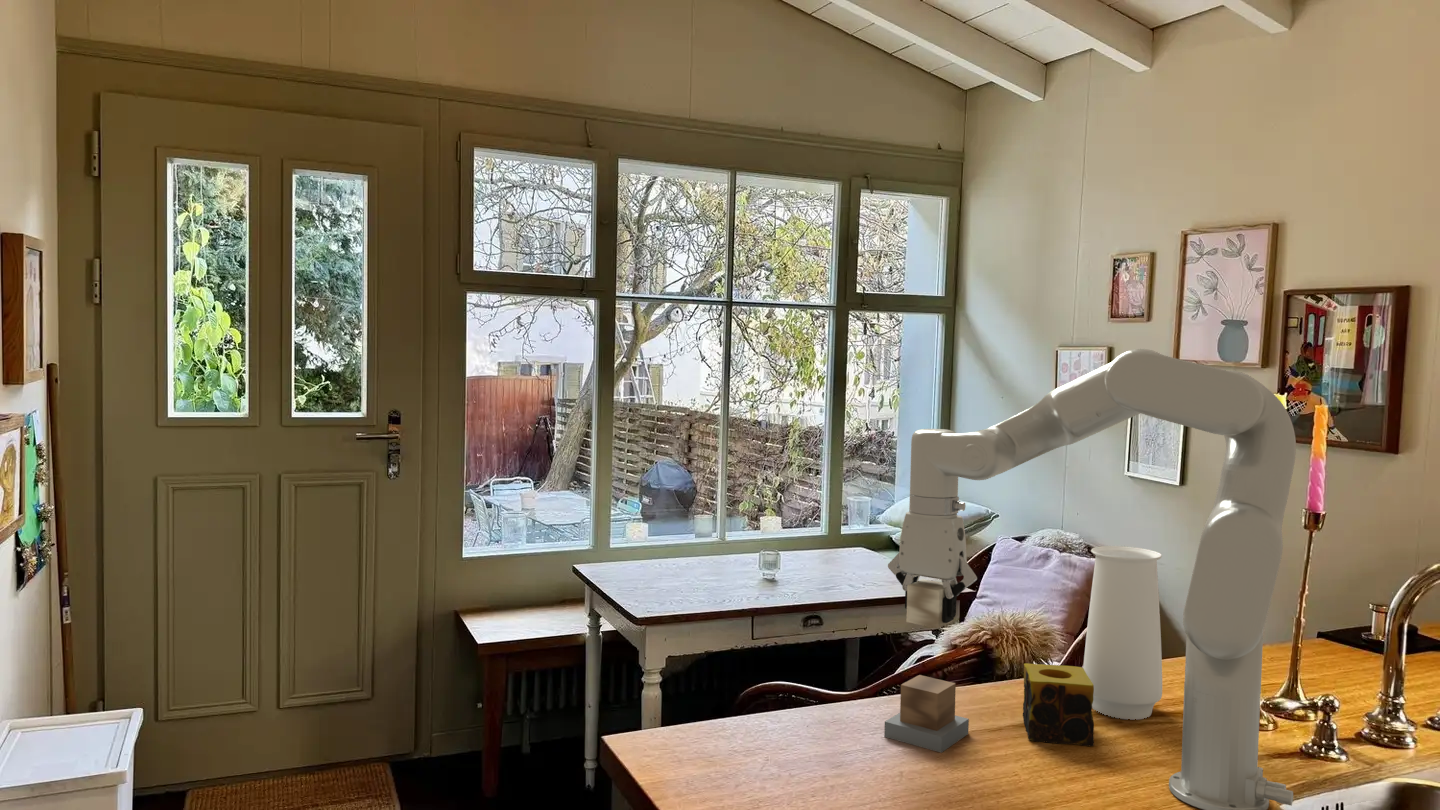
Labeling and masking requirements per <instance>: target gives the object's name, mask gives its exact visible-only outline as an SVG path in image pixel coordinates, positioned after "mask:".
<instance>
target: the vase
mask: <svg viewBox="0 0 1440 810" xmlns="http://www.w3.org/2000/svg"><path fill="white" fill-rule="evenodd" d="M1090 552H1091V553H1092V554H1093V555H1095V558H1094V566H1093V575H1092V584H1091V591H1090V601H1089V609H1088V618H1087V627H1086V636H1085V647H1084V655H1083V666H1082V667H1083V668H1084V670H1085V672H1086V674H1087V676H1088V677H1089V679H1090V680H1091V682H1092V683H1093V685H1094V693H1093V703H1092V710H1094V711H1095V710H1096V711H1095V712H1097V711H1098V712H1097V713H1099V712H1100V713H1099V714H1101V713H1102V714H1101V715H1103V714H1104V716H1106V715H1108V716H1107V717H1110V716H1111V717H1110V718H1114V717H1115V719H1119V718H1120V720H1128V719H1130V720H1133V721H1134V720H1135V719H1136V720H1137V721H1138V720H1144V718H1145V719H1147V717H1148V718H1149V717H1151V716H1152V713H1153V708H1154V706H1155V704H1156V703H1158V702H1159V701H1161V699H1162V698H1163V697H1162V696H1163V660H1162V658H1163V657H1162V655H1163V654H1162V637H1161V636H1162V634H1161V633H1162V632H1161V630H1162V629H1161V616H1160V615H1161V614H1160V612H1161V611H1160V596H1159V593H1160V592H1159V579H1158V577H1159V576H1158V562H1157V561H1158V560H1160V559H1162V557H1163V556H1162V553H1160V552H1158V551H1155V550H1152V549H1147V548H1144V547H1143V548H1141V547H1136V546H1125V545H1124V546H1123V545H1101V546H1095V547H1093V548H1091V549H1090Z"/></svg>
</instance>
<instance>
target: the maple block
mask: <svg viewBox="0 0 1440 810" xmlns="http://www.w3.org/2000/svg"><path fill="white" fill-rule="evenodd" d="M943 598H945V591H944V587H943V584H942V581H935V580H928V579H923V578H922V579H919V580H918V581H917V582H914V583H912V584H909V585H907V609H906V611H907V615H906V619H905V620H906V621H905V623H910V624H914V625H918V626H919V625H920V626H924V627H925V626H926V627H929V628H934V629H939V628H942V627H944V626H946V625H948V624H949V623H952V622H953V621H954V619H953V620H952V621H950V622H948V623H943V622H942V605H943Z"/></svg>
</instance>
